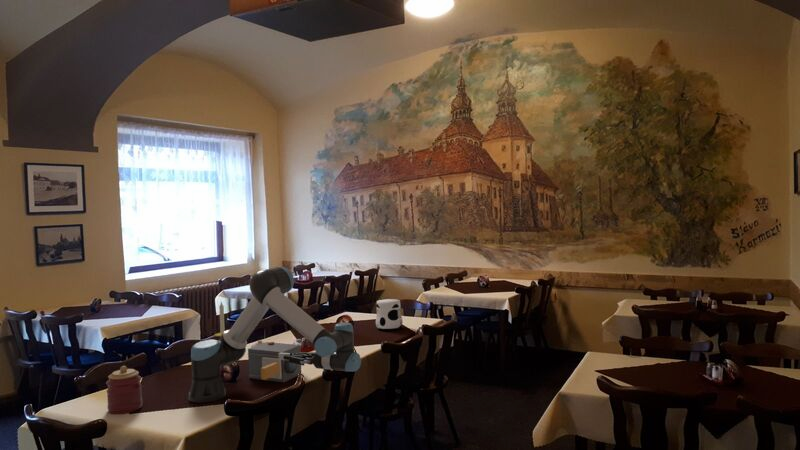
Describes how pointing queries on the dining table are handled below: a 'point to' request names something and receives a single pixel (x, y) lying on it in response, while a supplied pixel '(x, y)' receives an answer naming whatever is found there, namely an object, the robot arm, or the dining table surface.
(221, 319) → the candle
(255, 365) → the camera body
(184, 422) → the dining table surface
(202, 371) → the robot arm
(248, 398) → the dining table surface
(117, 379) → the canister
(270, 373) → the side door
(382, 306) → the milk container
